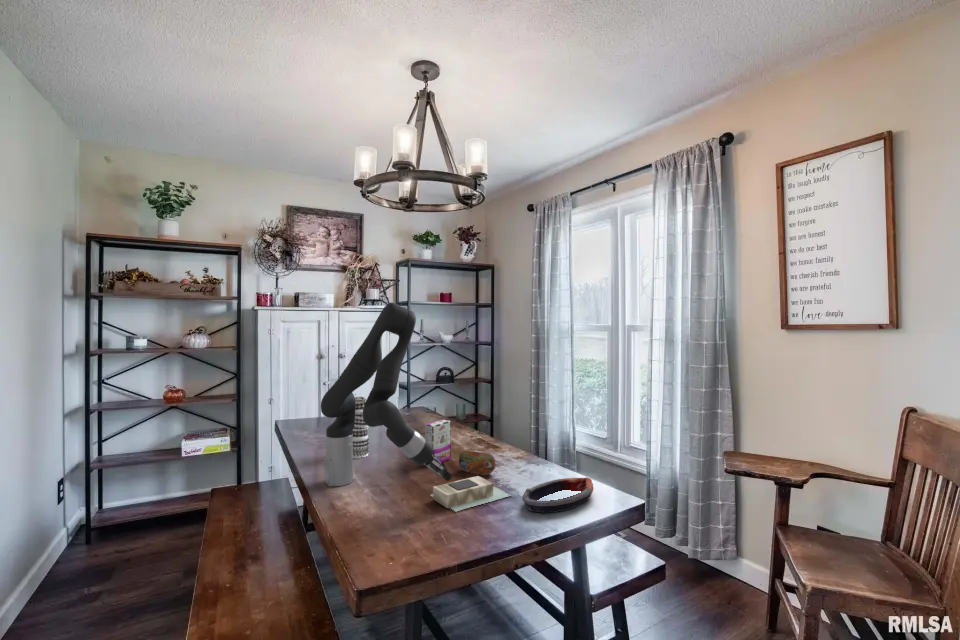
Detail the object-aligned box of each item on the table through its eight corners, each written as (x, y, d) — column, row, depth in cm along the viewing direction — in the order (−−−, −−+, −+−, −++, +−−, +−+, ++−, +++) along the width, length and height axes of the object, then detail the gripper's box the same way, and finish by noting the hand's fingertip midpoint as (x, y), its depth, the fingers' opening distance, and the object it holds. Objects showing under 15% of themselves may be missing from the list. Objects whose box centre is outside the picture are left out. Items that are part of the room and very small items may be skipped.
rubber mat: (455, 512, 141) (455, 511, 141) (430, 495, 154) (430, 494, 154) (511, 496, 154) (511, 495, 154) (483, 482, 167) (483, 481, 167)
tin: (458, 470, 179) (458, 449, 179) (462, 468, 182) (462, 447, 182) (492, 477, 172) (493, 454, 172) (496, 474, 175) (496, 452, 175)
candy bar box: (442, 457, 196) (442, 419, 196) (451, 459, 193) (451, 420, 193) (424, 464, 187) (424, 424, 187) (433, 466, 184) (433, 425, 184)
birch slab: (447, 494, 143) (493, 482, 154) (433, 485, 151) (478, 474, 161) (447, 508, 143) (493, 495, 154) (433, 498, 151) (478, 487, 161)
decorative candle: (366, 458, 194) (366, 399, 194) (344, 458, 194) (344, 399, 194) (372, 452, 203) (372, 396, 203) (351, 452, 203) (351, 395, 203)
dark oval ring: (509, 505, 147) (509, 489, 147) (575, 484, 165) (575, 470, 165) (543, 523, 135) (543, 506, 135) (610, 498, 153) (610, 483, 153)
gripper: (432, 441, 138) (467, 474, 145) (413, 432, 149) (445, 463, 156) (417, 462, 135) (452, 494, 142) (398, 451, 146) (432, 481, 153)
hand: (449, 478), depth 149 cm, fingers closed
